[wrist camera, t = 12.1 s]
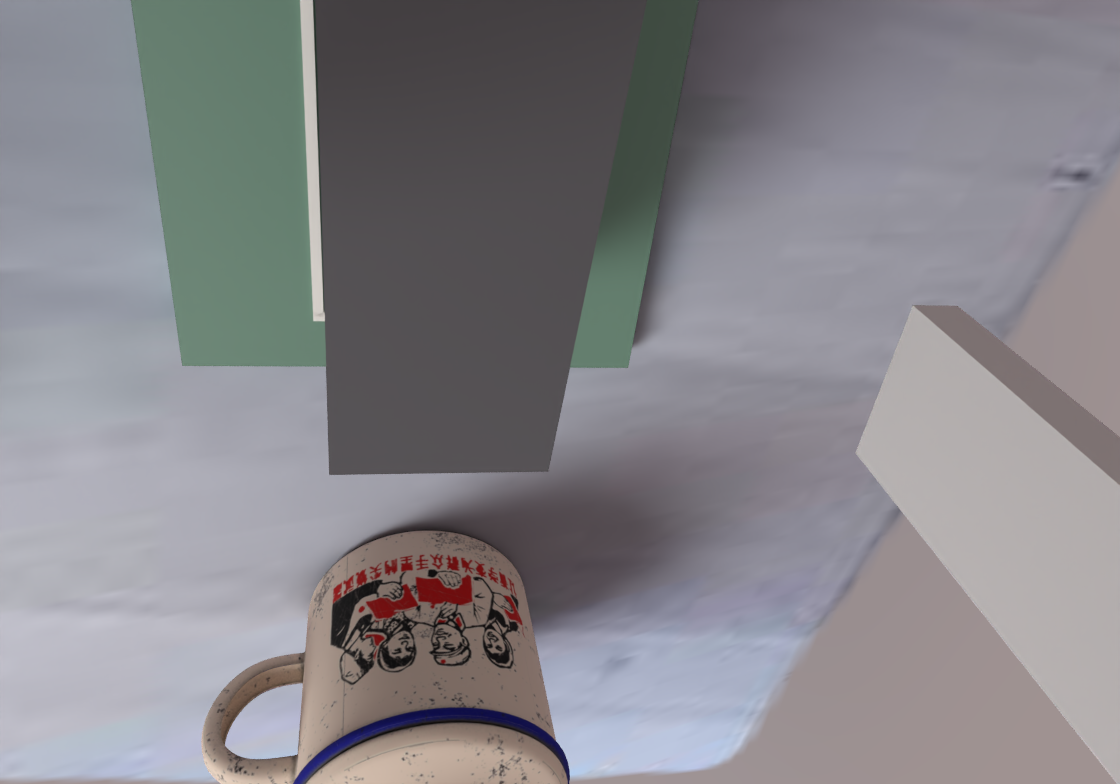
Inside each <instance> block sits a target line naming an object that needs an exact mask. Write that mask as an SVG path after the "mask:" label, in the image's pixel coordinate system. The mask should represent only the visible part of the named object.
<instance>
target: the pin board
mask: <svg viewBox="0 0 1120 784" xmlns="http://www.w3.org/2000/svg"><path fill="white" fill-rule="evenodd" d="M131 4H132V11H133V18H134V25H135V32H136V39H137V47H138V54H139V61H140V68H141V75H142V82H143V89H144V96H145V103H146V111H147V118H148V125H149V132H150V139H151V146H152V153H153V160H154V167H155V175H156V182H157V189H158V196H159V203H160V210H161V217H162V224H163V232H164V239H165V246H166V253H167V260H168V267H169V274H170V281H171V288H172V296H173V303H174V310H175V317H176V324H177V331H178V338H179V345H180V352H181V360H182V366H326V344H325V310H324V276H323V242H322V208H321V174H320V140H319V106H318V73H317V39H316V5H315V0H131ZM697 5H698V0H647V3H646V8H645V13H644V18H643V22H642V27H641V32H640V37H639V41H638V46H637V51H636V56H635V60H634V65H633V70H632V75H631V80H630V84H629V89H628V94H627V99H626V103H625V108H624V113H623V118H622V122H621V127H620V132H619V137H618V141H617V146H616V151H615V156H614V160H613V165H612V170H611V175H610V179H609V184H608V189H607V194H606V198H605V203H604V208H603V213H602V217H601V222H600V227H599V232H598V236H597V241H596V246H595V251H594V255H593V260H592V265H591V270H590V274H589V279H588V284H587V289H586V293H585V298H584V303H583V308H582V312H581V317H580V322H579V327H578V331H577V336H576V341H575V346H574V350H573V355H572V360H571V365H570V367H576V368H628V365H629V360H630V355H631V349H632V344H633V339H634V334H635V329H636V323H637V318H638V313H639V308H640V302H641V297H642V292H643V287H644V282H645V276H646V271H647V266H648V261H649V256H650V250H651V245H652V240H653V235H654V229H655V224H656V219H657V214H658V209H659V203H660V198H661V193H662V188H663V183H664V177H665V172H666V167H667V162H668V157H669V151H670V146H671V141H672V136H673V130H674V125H675V120H676V115H677V110H678V104H679V99H680V94H681V89H682V84H683V78H684V73H685V68H686V63H687V58H688V52H689V47H690V42H691V37H692V31H693V26H694V21H695V16H696V11H697Z"/></svg>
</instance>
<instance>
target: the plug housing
mask: <svg viewBox="0 0 1120 784" xmlns="http://www.w3.org/2000/svg"><path fill="white" fill-rule="evenodd" d="M646 3H647V0H315V5H316V39H317V73H318V106H319V140H320V174H321V208H322V242H323V276H324V310H325V344H326V378H327V412H328V446H329V475H348V474H413V473H479V472H544V471H548V469H549V464H550V460H551V455H552V450H553V445H554V441H555V436H556V431H557V426H558V422H559V417H560V412H561V407H562V403H563V398H564V393H565V388H566V384H567V379H568V374H569V369H570V365H571V360H572V355H573V350H574V346H575V341H576V336H577V331H578V327H579V322H580V317H581V312H582V308H583V303H584V298H585V293H586V289H587V284H588V279H589V274H590V270H591V265H592V260H593V255H594V251H595V246H596V241H597V236H598V232H599V227H600V222H601V217H602V213H603V208H604V203H605V198H606V194H607V189H608V184H609V179H610V175H611V170H612V165H613V160H614V156H615V151H616V146H617V141H618V137H619V132H620V127H621V122H622V118H623V113H624V108H625V103H626V99H627V94H628V89H629V84H630V80H631V75H632V70H633V65H634V60H635V56H636V51H637V46H638V41H639V37H640V32H641V27H642V22H643V18H644V13H645V8H646Z"/></svg>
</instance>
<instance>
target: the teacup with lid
mask: <svg viewBox="0 0 1120 784" xmlns="http://www.w3.org/2000/svg"><path fill="white" fill-rule="evenodd" d="M299 683H303V690H302V704H301V717H300V731H299V745H298V754H297V755H295V756H288V757H280V758H272V759H247V758H243V757H240V756H237V755H235V754H234V753H232V752H231V751H230V750H228V749H227V748H226V747H225V741H226V737H227V734H228V732H229V729H230V727H231V725H232V723H233V722H234V720H235V718H236V717H237V716H238V714H239V713H240V712H241V711H242V709H243V708H244V707H245V706H246V705H247V704H248V703H249V702H251V701H252V700H253V699H254V698H256V697H257V696H259V695H260V694H262V693H264V692H266V691H268V690H271V689H274V688H277V687H281V686H286V685H292V684H299ZM201 743H202V753H203V757H204V762H205V765H206V767H207V769H208V771H209V772H210V774H211V775H212V776H213V777H214V778H215V779H216V780H217V781H218V782H220V783H221V784H569V780H570V774H569V766H568V762H567V759H566V756H565V754H564V752H563V750H562V749H561V747H560V745H559V744H558V743H557V742H556V739H555V734H554V729H553V725H552V720H551V715H550V710H549V705H548V700H547V696H546V691H545V686H544V681H543V676H542V671H541V666H540V662H539V657H538V652H537V647H536V642H535V637H534V633H533V628H532V623H531V618H530V613H529V608H528V603H527V599H526V594H525V589H524V585H523V583H522V580H521V578H520V575H519V574H518V572H517V570H516V569H515V567H514V566H513V565H512V563H511V562H510V561H509V560H508V559H507V558H506V557H505V556H504V555H503V554H501V553H500V552H499V551H498V550H496V549H495V548H493V547H492V546H490V545H488V544H486V543H484V542H482V541H480V540H477V539H475V538H472V537H469V536H465V535H462V534H457V533H452V532H445V531H411V532H404V533H399V534H394V535H390V536H386V537H383V538H380V539H377V540H375V541H372V542H369V543H367V544H365V545H363V546H361V547H359V548H357V549H356V550H354V551H352V552H350V553H349V554H347V555H346V556H345V557H343V558H342V559H340V560H339V561H338V562H337V563H336V564H335V565H333V566H332V567H331V569H330V570H329V571H328V572H327V573H326V574H325V575H324V577H323V578H322V579H321V581H320V582H319V584H318V586H317V587H316V589H315V591H314V593H313V596H312V599H311V602H310V606H309V612H308V624H307V637H306V650H305V652H304V653H298V654H290V655H284V656H279V657H274V658H271V659H267V660H264V661H262V662H259V663H257V664H255V665H253V666H251V667H249V668H247V669H246V670H244V671H243V672H241V673H240V674H239V675H238V676H236V677H235V678H234V679H233V680H232V681H231V682H230V683H229V684H228V685H227V686H226V687H225V688H224V689H223V690H222V692H221V693H220V694H219V695H218V697H217V698H216V700H215V701H214V703H213V705H212V707H211V708H210V710H209V713H208V715H207V717H206V720H205V723H204V727H203V732H202V741H201Z"/></svg>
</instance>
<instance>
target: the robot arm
mask: <svg viewBox="0 0 1120 784" xmlns="http://www.w3.org/2000/svg"><path fill="white" fill-rule="evenodd" d="M856 454H857V456H858V457H859V458H860V459H861V461H862V462H863V463H864V464H865V466H866V467H867V468H868V469H869V471H870V472H871V473H872V475H873V476H874V477H875V478H876V480H877V481H878V482H879V483H880V485H881V486H882V487H883V488H884V490H885V491H886V492H887V494H888V495H889V496H890V497H891V499H892V500H893V501H894V502H895V504H896V505H897V506H898V507H899V509H900V510H901V511H902V512H903V514H904V515H905V516H906V518H907V519H908V520H909V521H910V523H911V524H912V525H913V526H914V528H915V529H916V530H917V531H918V533H919V534H920V535H921V537H922V538H923V539H924V540H925V542H926V543H927V544H928V545H929V547H930V548H931V549H932V550H933V552H934V553H935V554H936V555H937V557H938V558H939V559H940V560H941V562H942V563H943V564H944V566H945V567H946V568H947V569H948V571H949V572H950V573H951V574H952V575H953V577H954V578H955V579H956V581H957V582H958V583H959V584H960V586H961V587H962V588H963V590H964V591H965V592H966V593H967V595H968V596H969V597H970V598H971V600H972V601H973V602H974V604H975V605H976V606H977V607H978V609H979V610H980V611H981V612H982V613H983V615H984V616H985V617H986V619H987V620H988V621H989V623H990V624H991V625H992V626H993V628H994V629H995V630H996V631H997V633H998V634H999V635H1000V636H1001V638H1002V639H1003V640H1004V641H1005V643H1006V644H1007V645H1008V647H1009V648H1010V649H1011V650H1012V652H1013V653H1014V654H1015V655H1016V657H1017V658H1018V659H1019V660H1020V662H1021V663H1022V664H1023V665H1024V667H1025V668H1026V669H1027V671H1028V672H1029V673H1030V674H1031V676H1032V677H1033V678H1034V679H1035V681H1036V682H1037V683H1038V685H1040V687H1041V688H1042V690H1043V691H1044V692H1045V693H1046V695H1047V696H1048V697H1049V698H1050V700H1051V701H1052V702H1053V703H1054V705H1055V706H1056V707H1057V708H1058V710H1059V711H1060V712H1061V714H1062V715H1063V716H1064V717H1065V719H1066V720H1067V721H1068V722H1069V724H1070V725H1071V726H1072V727H1073V729H1074V730H1075V731H1076V733H1077V734H1078V735H1079V736H1080V738H1081V739H1082V740H1083V741H1084V743H1085V744H1086V745H1087V746H1088V748H1089V749H1090V750H1091V751H1092V753H1093V754H1094V755H1095V757H1096V758H1097V759H1098V760H1099V762H1100V763H1101V764H1102V765H1103V767H1104V768H1105V769H1106V771H1107V772H1108V773H1109V774H1110V776H1111V777H1112V778H1113V779H1114V781H1115V782H1116V783H1117V784H1120V437H1119V436H1118V435H1116V434H1115V433H1114V432H1113V431H1112V430H1110V429H1109V428H1108V427H1107V426H1105V425H1104V424H1103V423H1102V422H1100V421H1099V420H1098V419H1097V418H1095V417H1094V416H1093V415H1092V414H1090V413H1089V412H1088V411H1087V410H1086V409H1084V408H1083V407H1082V406H1080V405H1079V404H1078V403H1077V402H1076V401H1074V400H1073V399H1072V398H1071V397H1069V396H1068V395H1067V394H1066V393H1065V392H1063V391H1062V390H1061V389H1060V388H1058V387H1057V386H1056V385H1055V384H1053V383H1052V382H1051V381H1050V380H1048V379H1047V378H1046V377H1045V376H1043V375H1042V374H1041V373H1040V372H1038V371H1037V370H1036V369H1035V368H1033V367H1032V366H1031V365H1030V364H1029V363H1027V362H1026V361H1025V360H1024V359H1022V358H1021V357H1020V356H1019V355H1018V354H1016V353H1015V352H1014V351H1012V350H1011V349H1010V348H1009V347H1008V346H1006V345H1005V344H1004V343H1003V342H1001V341H1000V340H999V339H998V338H996V337H995V336H994V335H993V334H992V333H990V332H989V331H988V330H987V329H985V328H984V327H983V326H982V325H980V324H979V323H978V322H977V321H975V320H974V319H973V318H972V317H970V316H969V315H968V314H967V313H966V312H964V311H963V310H962V309H961V308H959V307H958V306H926V305H913V306H912V309H911V312H910V314H909V317H908V319H907V322H906V324H905V327H904V330H903V332H902V335H901V337H900V340H899V342H898V345H897V348H896V350H895V353H894V355H893V358H892V360H891V363H890V366H889V368H888V371H887V373H886V376H885V378H884V381H883V384H882V386H881V389H880V391H879V394H878V396H877V399H876V402H875V404H874V407H873V409H872V412H871V415H870V417H869V420H868V422H867V425H866V427H865V430H864V433H863V435H862V438H861V440H860V443H859V445H858V448H857V451H856Z"/></svg>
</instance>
